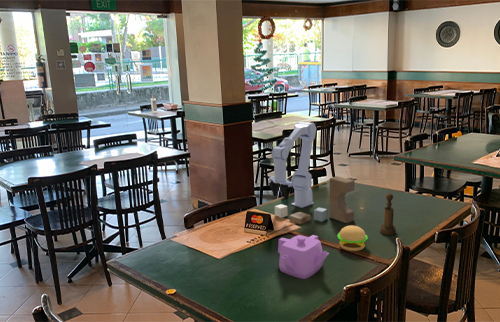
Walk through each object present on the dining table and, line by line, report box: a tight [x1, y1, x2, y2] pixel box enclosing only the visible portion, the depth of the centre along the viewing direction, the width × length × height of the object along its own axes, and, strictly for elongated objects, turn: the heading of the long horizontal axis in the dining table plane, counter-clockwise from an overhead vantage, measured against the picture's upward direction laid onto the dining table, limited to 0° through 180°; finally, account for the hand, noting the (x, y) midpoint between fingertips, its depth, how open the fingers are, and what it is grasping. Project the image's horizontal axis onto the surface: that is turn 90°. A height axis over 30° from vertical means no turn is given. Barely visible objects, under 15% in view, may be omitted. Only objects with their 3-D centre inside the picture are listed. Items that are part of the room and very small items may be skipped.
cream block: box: [274, 203, 288, 219], centre depth 208 cm, size 4×4×5 cm
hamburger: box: [337, 225, 368, 252], centre depth 171 cm, size 12×12×9 cm
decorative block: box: [328, 176, 356, 224], centre depth 199 cm, size 11×6×20 cm, turn 37°
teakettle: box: [277, 234, 330, 280], centre depth 154 cm, size 17×17×12 cm
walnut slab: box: [289, 211, 311, 225], centre depth 202 cm, size 7×7×3 cm
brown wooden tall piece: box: [379, 192, 397, 236], centre depth 183 cm, size 7×6×18 cm
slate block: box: [313, 207, 328, 222], centre depth 202 cm, size 4×4×5 cm
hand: (280, 197), depth 207 cm, fingers open, 7 cm apart
